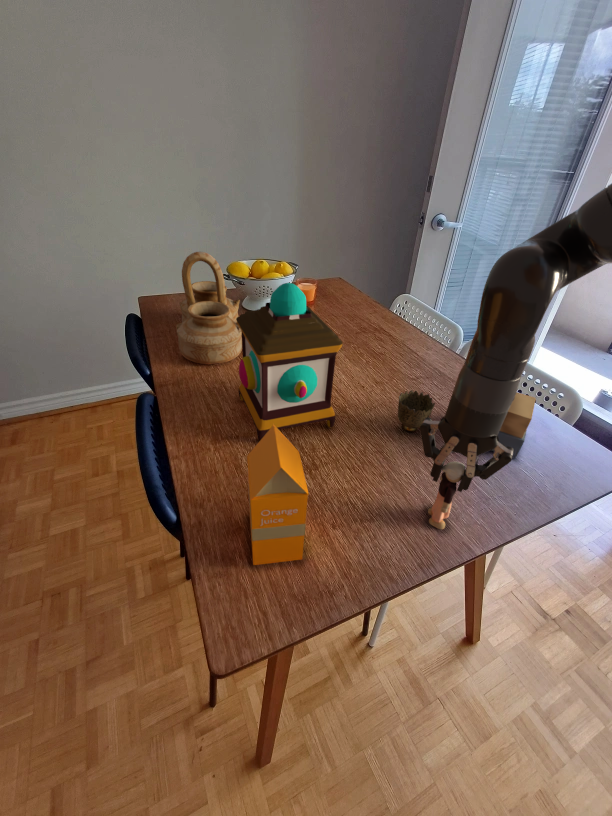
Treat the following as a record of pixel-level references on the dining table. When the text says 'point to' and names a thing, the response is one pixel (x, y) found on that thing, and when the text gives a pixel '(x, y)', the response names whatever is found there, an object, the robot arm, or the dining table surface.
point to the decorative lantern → (287, 363)
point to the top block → (519, 415)
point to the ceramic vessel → (208, 317)
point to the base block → (511, 442)
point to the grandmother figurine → (445, 493)
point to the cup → (413, 410)
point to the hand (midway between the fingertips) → (448, 482)
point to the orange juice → (276, 500)
